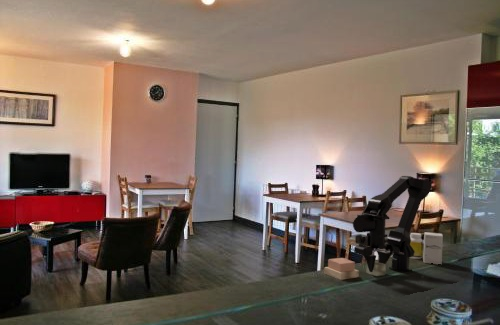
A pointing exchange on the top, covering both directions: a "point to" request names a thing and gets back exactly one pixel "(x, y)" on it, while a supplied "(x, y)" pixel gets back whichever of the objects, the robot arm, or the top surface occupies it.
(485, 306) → the top surface
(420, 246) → the pill bottle
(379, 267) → the sage block
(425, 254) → the supplement box
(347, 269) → the terracotta block
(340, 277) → the birch block
